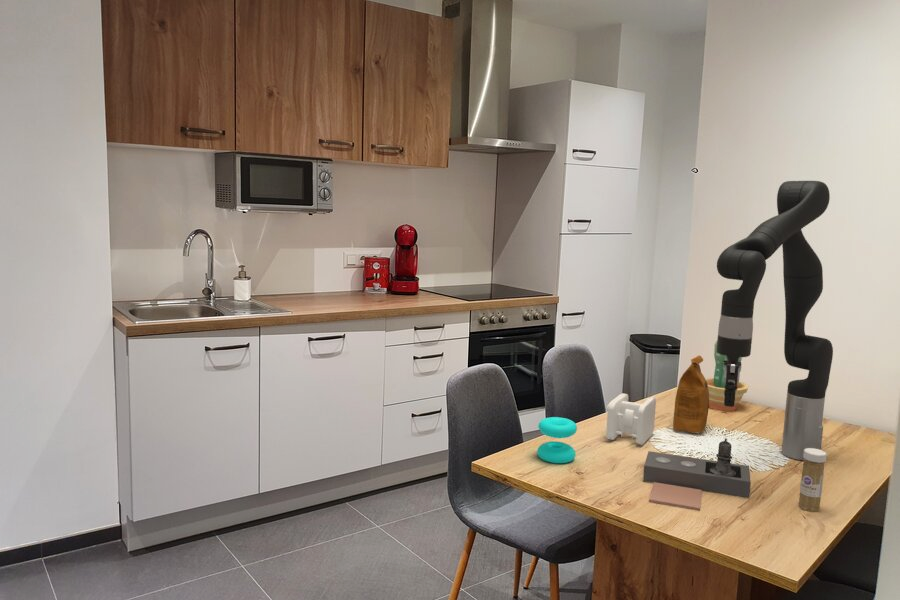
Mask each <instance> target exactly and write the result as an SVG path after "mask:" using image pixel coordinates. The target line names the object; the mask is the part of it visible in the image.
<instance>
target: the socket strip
mask: <svg viewBox="0 0 900 600" xmlns="http://www.w3.org/2000/svg"><path fill="white" fill-rule="evenodd" d="M716 465H717V460H710V459H704V458H697V457H691V456H684V455H679V454H670V453H664V452H658V451H657V452H656V451H650V450H649V451H648V452H647V455H646V458H645V461H644V464H643V477H642V482H645V481H647V482H646V483H651V482H652V484H653V482H656V483H663V484H669V485H675V486H681V487H687V488H693V489H700V490H701V492H708V493H714V494H720V495H721V494H722V495H725V496H733V497H739V498H745V499H750V492H751V481H752V480H751V474H750V473H751V471H750V466H749V465H744V464H739V463H732V462H730V468H731V470H733V471H735V473H736V475H735V476H734V477H730V476H723V475H717V474H711V471H710V469H711V468H713V467H716Z"/></svg>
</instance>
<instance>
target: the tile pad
mask: <svg viewBox="0 0 900 600" xmlns="http://www.w3.org/2000/svg"><path fill="white" fill-rule="evenodd" d="M701 500H702V491H701V490H700V489H693V488H687V487H681V486H675V485H669V484H663V483H656V482H653V483H652V487H651V490H650V495H649V498H648V502H649V503H652V502H654V503H653V504H659V505H666V506H672V507H675V508H676V507H678V508H683V509H688V510H689V509H690V510H695V511H699V512H700V511H701Z"/></svg>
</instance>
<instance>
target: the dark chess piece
mask: <svg viewBox="0 0 900 600" xmlns="http://www.w3.org/2000/svg"><path fill="white" fill-rule="evenodd" d="M715 456H716V457H717V459H716V461H717V465H716V467H713V468H711V469H710V471H711V474H717V475H723V476H730V477H734V476H735V475H736V473H735V471H733V470H731V468H730V463H732V462H731V460H732V459H733V456H732V444H731V443H730V442H729V441H728V438H726V437H725V438H724V440H723V441H720V442H719V443H718V451H717V454H716V455H715Z"/></svg>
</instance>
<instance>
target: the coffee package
mask: <svg viewBox="0 0 900 600" xmlns="http://www.w3.org/2000/svg"><path fill="white" fill-rule="evenodd" d="M703 361H704V357H702V356H701V355H697V356H695V357H694V358H691V359H690V362H691V364H690V365H689V366H688V367H687V369H686V370H685V371H684V373H683V374H682V375H681V376H680V379H679V382H678V387H677V390H676V395H675V400H674V410H673V418H672V419H673V423H672V429H673V431H675V432H684V433H685V432H687V433H692V434H702V433H703V431H705V428H706V426H707V422H708V413H709V408H710V407H709V389H708V384H707V381H706V379H707V378H705V376H704V374H703V372H702V370H701V366H700V364H701V363H702V362H703Z"/></svg>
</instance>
